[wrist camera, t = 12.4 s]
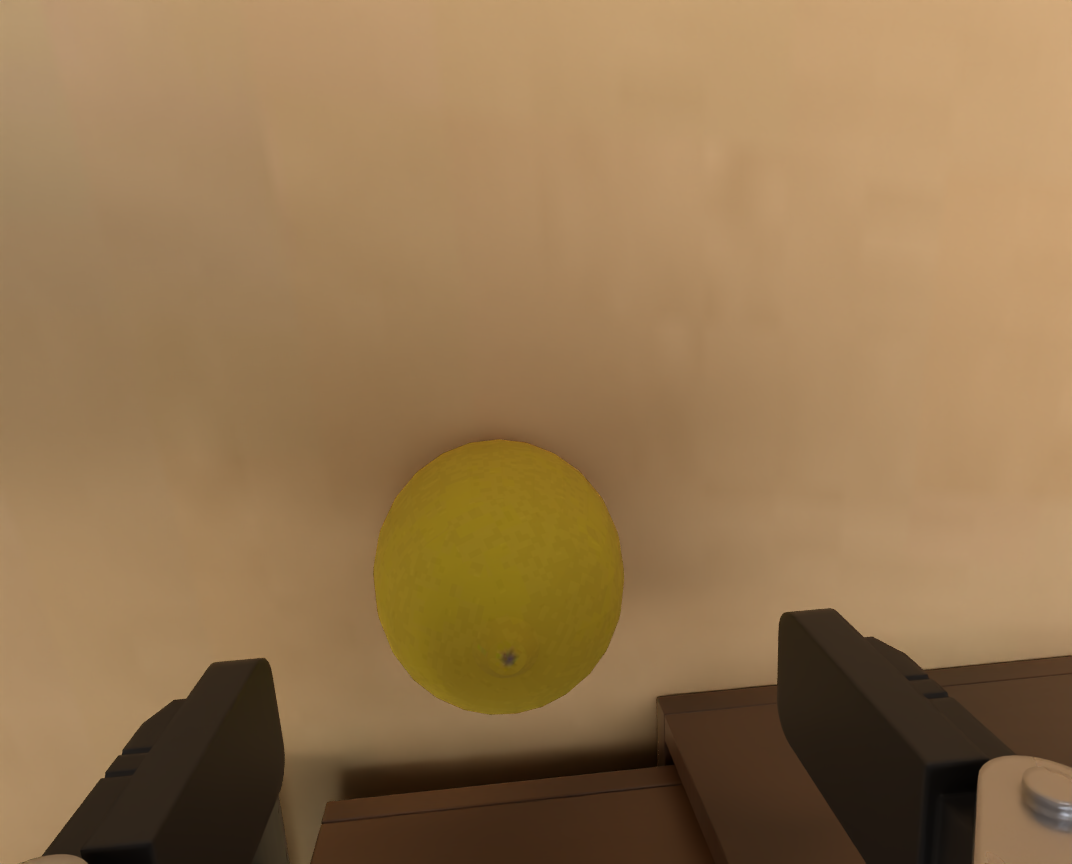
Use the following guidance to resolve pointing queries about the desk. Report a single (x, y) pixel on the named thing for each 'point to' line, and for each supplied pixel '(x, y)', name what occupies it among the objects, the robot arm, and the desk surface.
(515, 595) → the lemon
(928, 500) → the desk surface
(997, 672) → the cabinet
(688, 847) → the drawer
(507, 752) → the desk surface
